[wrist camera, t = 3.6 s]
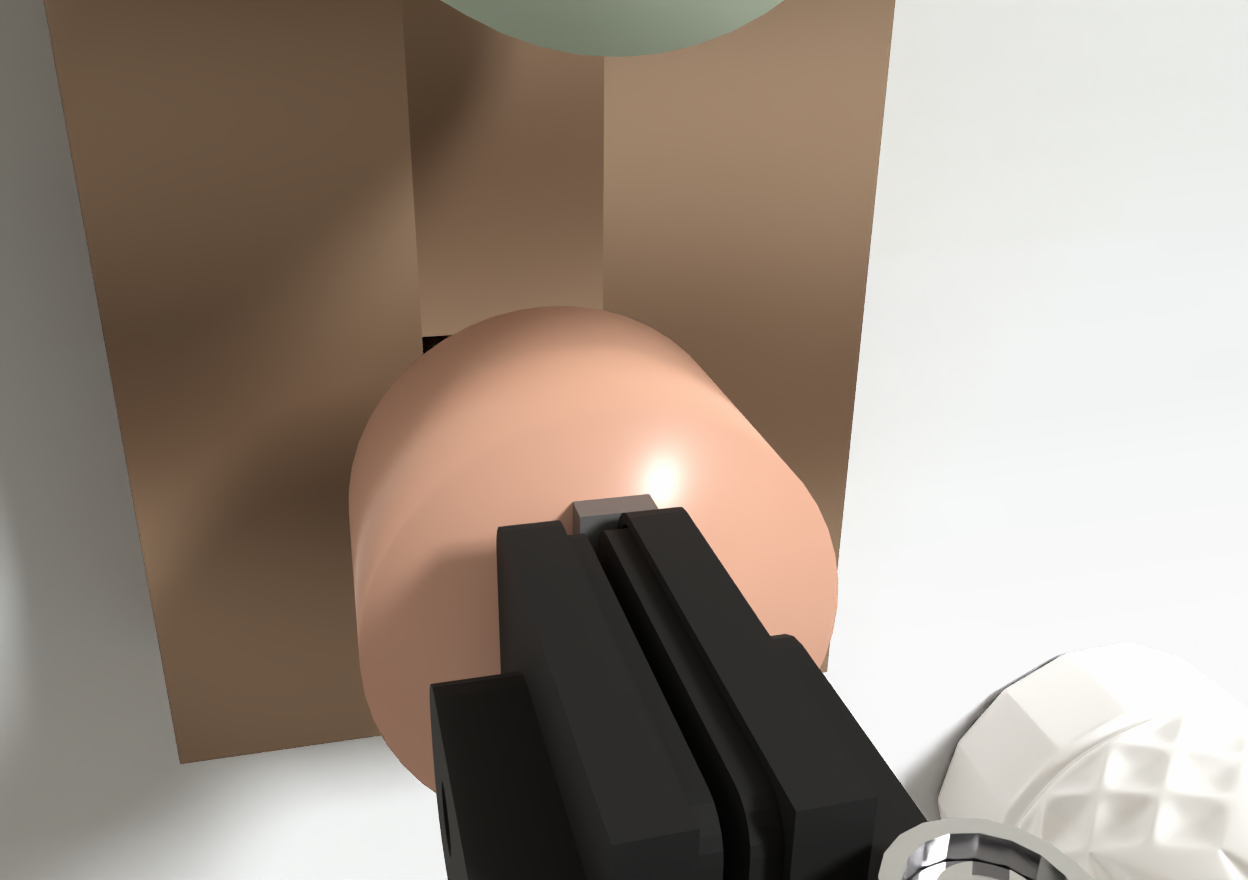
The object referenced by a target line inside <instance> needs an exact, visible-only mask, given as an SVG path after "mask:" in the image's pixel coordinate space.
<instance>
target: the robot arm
mask: <svg viewBox="0 0 1248 880" xmlns="http://www.w3.org/2000/svg"><path fill="white" fill-rule="evenodd" d="M496 554H497V582H498V609H499V637H500V665H501V674H497V675H490V676H483V677H476V678H469V679H462V680H455V681H448V682H440V683H433V684H430V717H431V732H432V747H433V761H434V773H435V784H436V794H437V804H438V812H439V821H440V829H441V837H442V844H443V851H444V858H445V864H446V870H447V876H448V880H1094V879H1093V878H1092V877H1091V876H1090V875H1089V874H1088V873H1087V872H1086V871H1085V870H1084V869H1083V868H1081V867H1080V866H1079V865H1078V864H1077V863H1076V862H1074V861H1073V860H1072V859H1071V858H1069V857H1068V856H1067V855H1065V854H1064V853H1063V852H1061V851H1060V850H1059V849H1057V848H1056V847H1055V846H1053V845H1052V844H1051V843H1049V842H1047V841H1045V840H1043V839H1041V838H1039V837H1036V836H1034V835H1032V834H1030V833H1028V832H1026V831H1024V830H1022V829H1020V828H1017V827H1013V826H1009V825H1006V824H1002V823H998V822H994V821H990V820H987V819H975V818H957V817H951V818H946V819H940V820H935V821H929V822H928V821H927V820H926V819H925V817H924V816H923V814H922V813H921V812H920V810H919V809H918V807H917V806H916V805H915V803H914V802H913V800H912V799H911V797H910V796H909V795H908V793H907V792H906V790H905V789H904V788H903V786H902V785H901V783H900V782H899V780H898V779H897V778H896V776H895V775H894V773H893V772H892V771H891V769H890V768H889V766H888V765H887V764H886V762H885V761H884V759H883V758H882V756H881V755H880V754H879V752H878V751H877V749H876V748H875V747H874V745H873V744H872V742H871V741H870V739H869V738H868V737H867V735H866V734H865V732H864V731H863V730H862V728H861V727H860V725H859V724H858V723H857V721H856V720H855V718H854V717H853V715H852V714H851V713H850V711H849V710H848V708H847V707H846V706H845V704H844V703H843V701H842V700H841V699H840V697H839V696H838V694H837V693H836V691H835V690H834V689H833V687H832V686H831V684H830V683H829V682H828V680H827V679H826V677H825V676H824V674H823V673H822V672H821V670H820V669H819V667H818V666H817V665H816V663H815V662H814V660H813V659H812V658H811V656H810V655H809V653H808V652H807V650H806V649H805V648H804V646H803V645H802V644H801V643H800V642H799V641H798V640H797V639H796V638H795V637H794V636H792V635H788V634H781V635H774V636H770V635H769V633H768V632H767V630H766V629H765V627H764V626H763V624H762V623H761V621H760V620H759V618H758V617H757V615H756V614H755V612H754V611H753V609H752V608H751V606H750V605H749V603H748V602H747V600H746V599H745V597H744V596H743V595H742V593H741V592H740V590H739V589H738V587H737V586H736V584H735V583H734V581H733V580H732V578H731V577H730V575H729V574H728V572H727V571H726V569H725V568H724V566H723V565H722V563H721V562H720V560H719V559H718V557H717V556H716V554H715V553H714V551H713V550H712V548H711V547H710V545H709V544H708V542H707V541H706V539H705V538H704V536H703V535H702V533H701V532H700V530H699V529H698V527H697V526H696V524H695V523H694V522H693V520H692V519H691V517H690V516H689V514H688V513H687V511H686V510H685V509H684V508H683V507H672V508H663V509H654V510H645V511H636V512H627V513H622V514H621V516H620V517H619V521H618V529H616V530H607V531H601V533H600V535H599V540H598V558H597V556H596V554H595V552H594V550H593V548H592V546H591V544H590V541H589V539H588V537H587V536H586V534H585V533H581V534H572V535H567V533H566V531H565V528H564V526H563V524H562V523H561V521H560V520H554V521H545V522H536V523H527V524H518V525H509V526H500V527H498V529H497V537H496Z"/></svg>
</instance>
